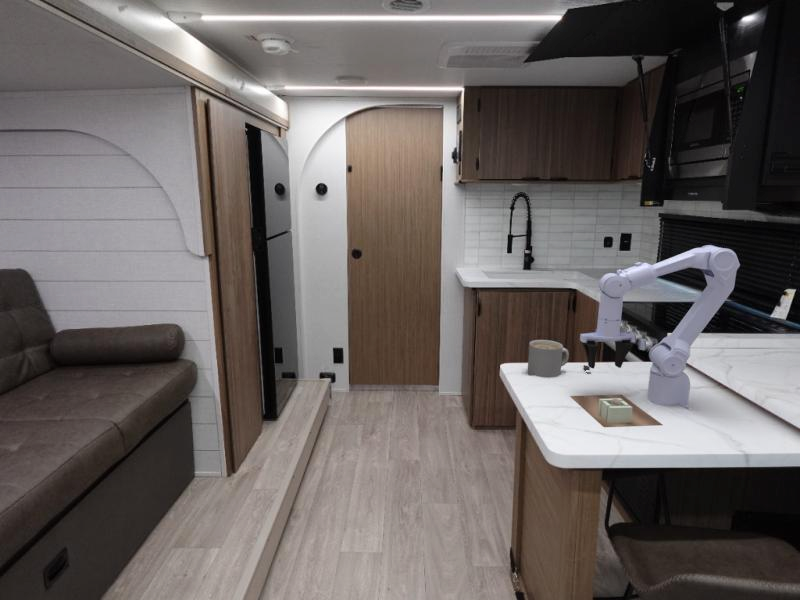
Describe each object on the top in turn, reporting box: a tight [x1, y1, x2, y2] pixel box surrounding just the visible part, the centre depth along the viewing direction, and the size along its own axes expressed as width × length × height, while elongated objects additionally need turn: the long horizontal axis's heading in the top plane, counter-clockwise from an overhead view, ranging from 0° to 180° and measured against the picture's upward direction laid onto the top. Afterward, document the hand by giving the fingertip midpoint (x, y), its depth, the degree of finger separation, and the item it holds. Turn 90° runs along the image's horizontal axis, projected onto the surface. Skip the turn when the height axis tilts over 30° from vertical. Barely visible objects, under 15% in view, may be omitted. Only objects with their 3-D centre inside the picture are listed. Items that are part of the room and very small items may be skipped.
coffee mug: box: [526, 339, 570, 379], centre depth 156 cm, size 13×10×10 cm
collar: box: [598, 398, 633, 423], centre depth 124 cm, size 6×6×4 cm
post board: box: [569, 394, 663, 428], centre depth 129 cm, size 15×19×6 cm
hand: (604, 366), depth 136 cm, fingers open, 7 cm apart
